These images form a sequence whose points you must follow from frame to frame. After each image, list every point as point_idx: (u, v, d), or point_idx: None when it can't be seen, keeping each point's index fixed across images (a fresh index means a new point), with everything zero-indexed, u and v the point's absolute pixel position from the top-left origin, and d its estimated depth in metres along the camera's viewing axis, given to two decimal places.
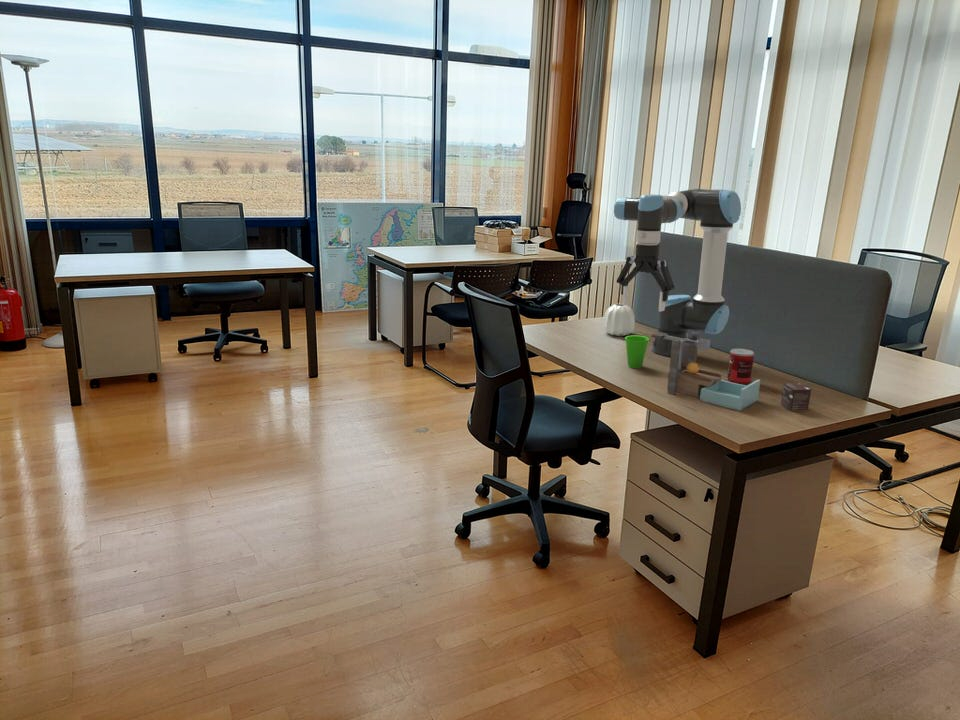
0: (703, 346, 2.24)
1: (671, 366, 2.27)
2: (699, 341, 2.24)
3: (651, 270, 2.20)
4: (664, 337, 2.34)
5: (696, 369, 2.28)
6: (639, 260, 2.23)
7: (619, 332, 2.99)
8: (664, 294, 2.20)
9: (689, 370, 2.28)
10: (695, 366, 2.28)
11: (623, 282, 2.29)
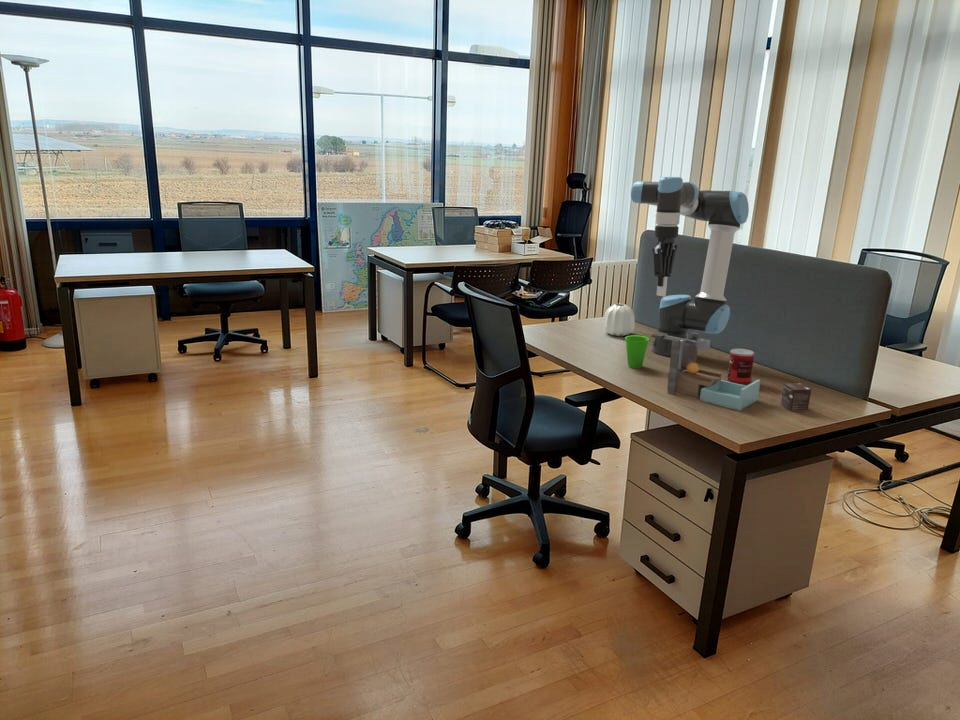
0: (703, 346, 2.24)
1: (671, 366, 2.27)
2: (699, 341, 2.24)
3: None
4: (664, 337, 2.34)
5: (696, 369, 2.28)
6: None
7: (619, 332, 2.99)
8: None
9: (689, 370, 2.28)
10: (695, 366, 2.28)
11: None
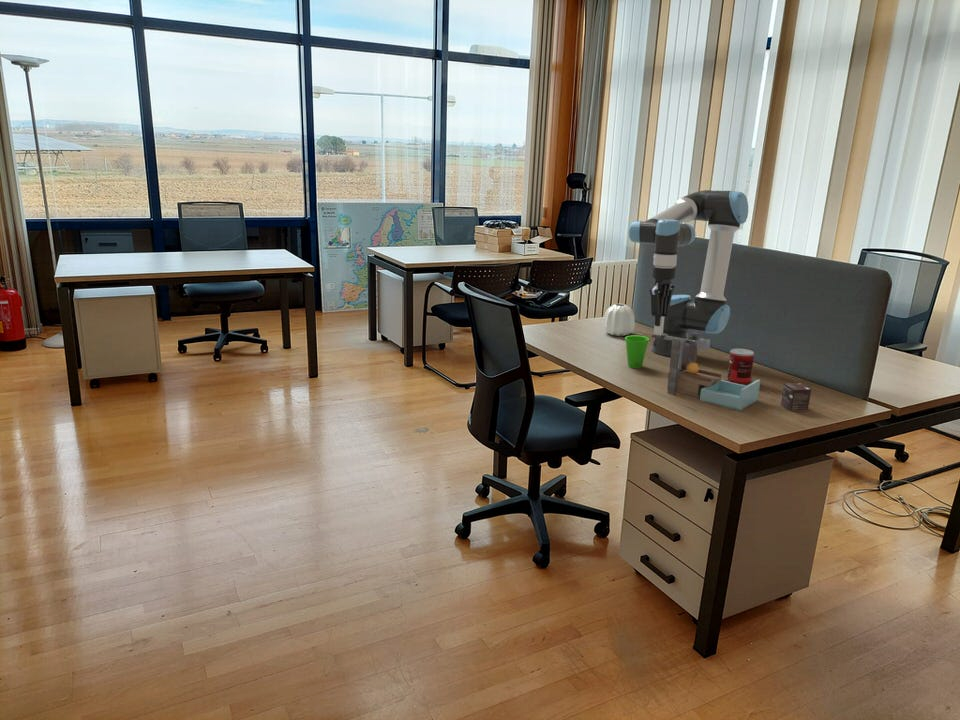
0: (703, 345, 2.24)
1: (671, 366, 2.27)
2: (699, 340, 2.24)
3: None
4: (664, 337, 2.34)
5: (696, 369, 2.28)
6: None
7: (619, 332, 2.99)
8: None
9: (689, 370, 2.28)
10: (695, 366, 2.28)
11: None
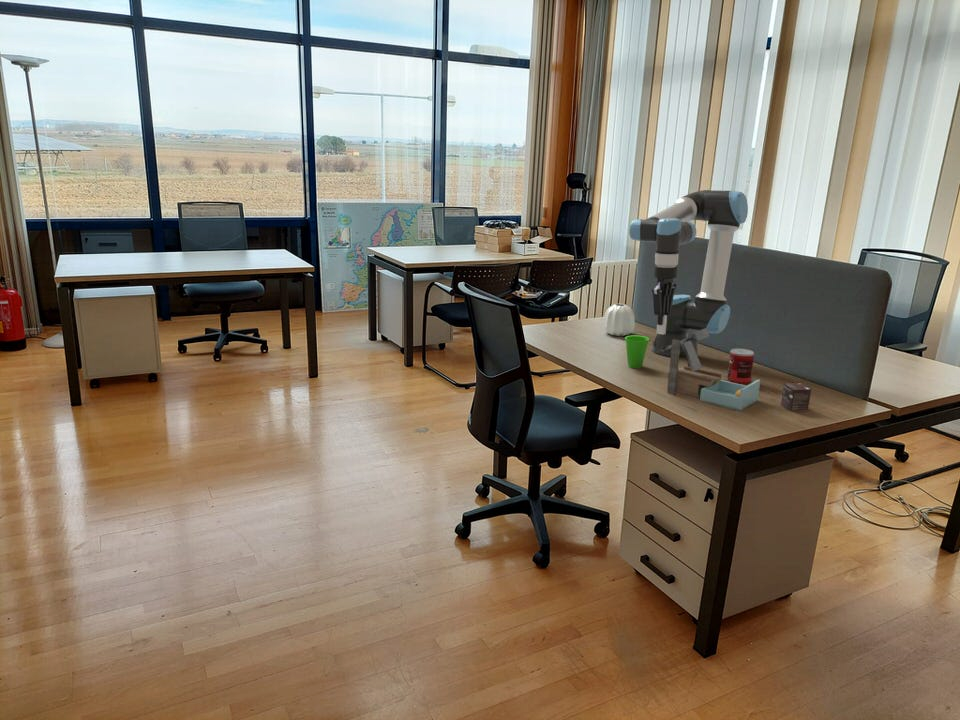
0: (701, 335, 2.23)
1: (671, 366, 2.27)
2: (696, 332, 2.24)
3: None
4: (666, 348, 2.34)
5: None
6: None
7: (619, 332, 2.99)
8: None
9: (738, 396, 2.19)
10: None
11: None
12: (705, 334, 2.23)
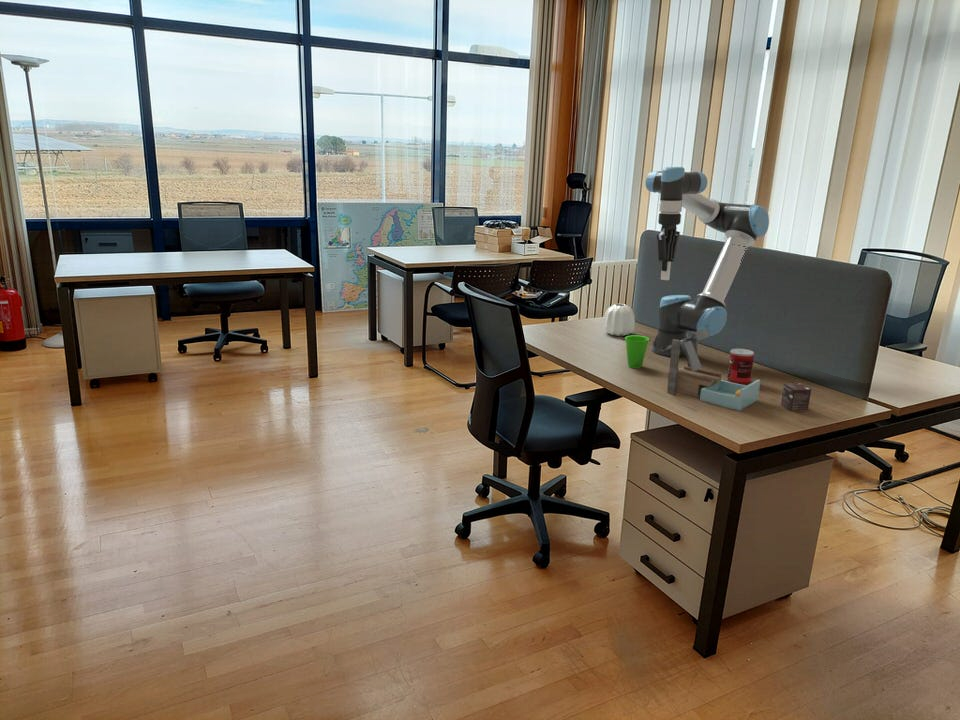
0: (701, 335, 2.23)
1: (671, 366, 2.27)
2: (696, 332, 2.24)
3: None
4: (666, 348, 2.34)
5: None
6: None
7: (619, 332, 2.99)
8: None
9: (738, 396, 2.19)
10: None
11: None
12: (705, 334, 2.23)
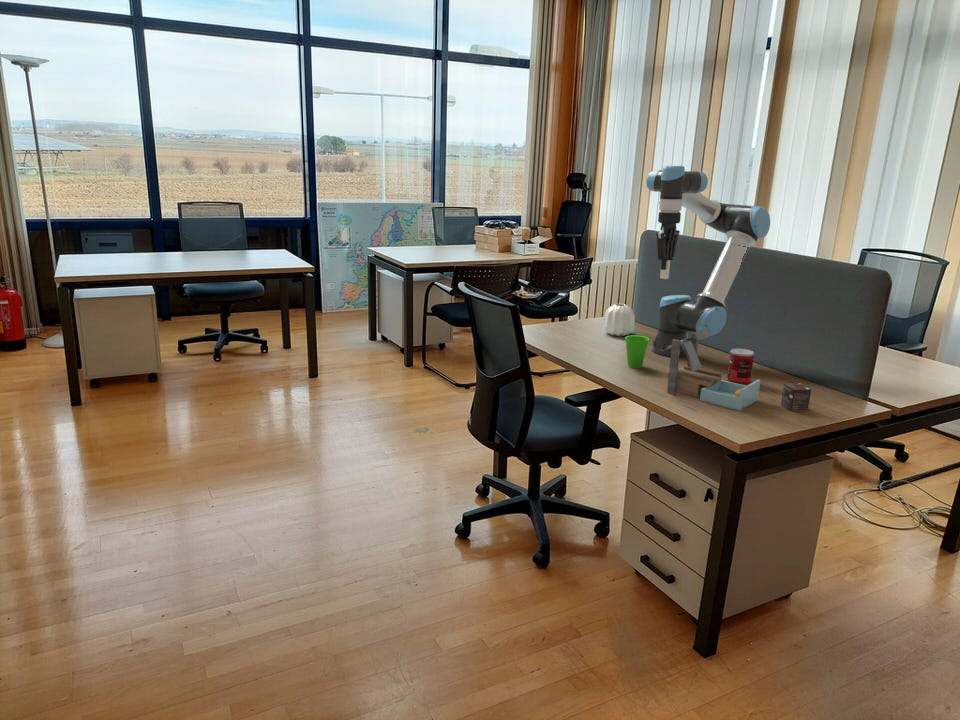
0: (701, 335, 2.23)
1: (671, 366, 2.27)
2: (696, 332, 2.24)
3: None
4: (666, 348, 2.34)
5: None
6: None
7: (619, 332, 2.99)
8: None
9: (738, 396, 2.19)
10: None
11: None
12: (705, 334, 2.23)
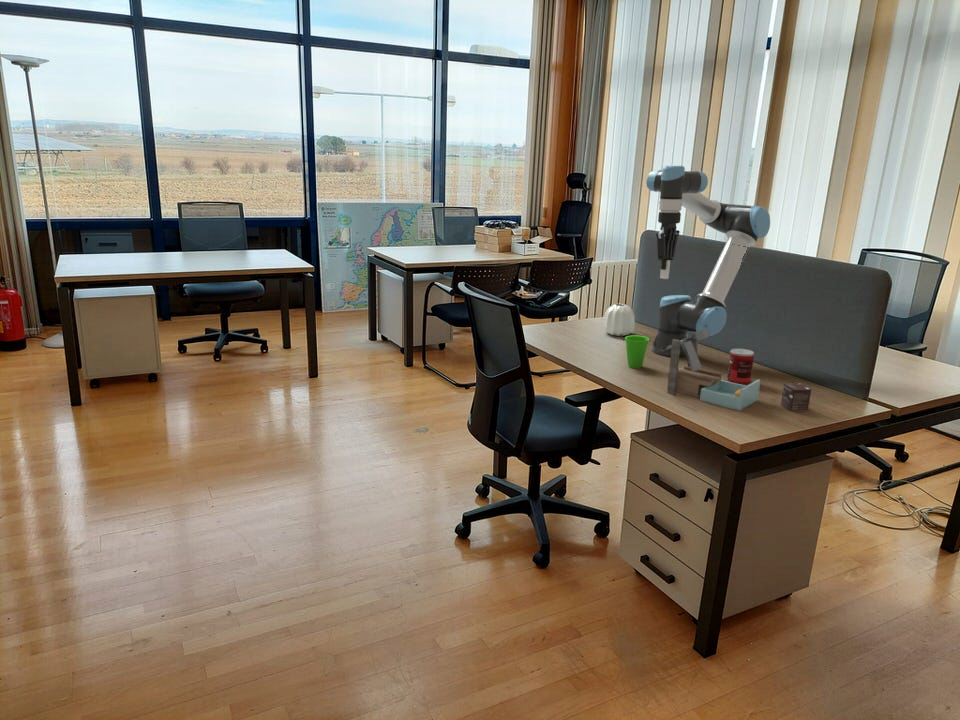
0: (701, 335, 2.23)
1: (671, 366, 2.27)
2: (696, 332, 2.24)
3: None
4: (666, 348, 2.34)
5: None
6: None
7: (619, 332, 2.99)
8: None
9: (738, 396, 2.19)
10: None
11: None
12: (705, 334, 2.23)
